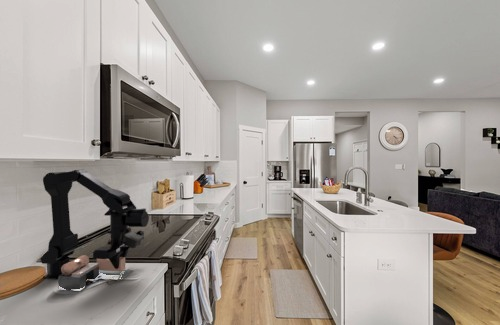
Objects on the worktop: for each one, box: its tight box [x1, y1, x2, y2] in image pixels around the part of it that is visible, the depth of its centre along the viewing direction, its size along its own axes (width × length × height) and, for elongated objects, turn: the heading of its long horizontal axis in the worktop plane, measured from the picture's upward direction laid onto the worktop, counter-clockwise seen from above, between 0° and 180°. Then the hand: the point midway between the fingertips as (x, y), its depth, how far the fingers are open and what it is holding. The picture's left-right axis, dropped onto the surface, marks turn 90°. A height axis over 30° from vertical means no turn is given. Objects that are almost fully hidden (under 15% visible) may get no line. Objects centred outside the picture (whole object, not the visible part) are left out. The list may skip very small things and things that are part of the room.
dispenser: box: [57, 254, 100, 290], centre depth 77 cm, size 8×8×9 cm
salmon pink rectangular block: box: [96, 257, 126, 271], centre depth 83 cm, size 10×2×4 cm, turn 84°
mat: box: [99, 269, 134, 282], centre depth 83 cm, size 13×7×1 cm, turn 84°
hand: (119, 266), depth 83 cm, fingers closed on salmon pink rectangular block, 2 cm apart
